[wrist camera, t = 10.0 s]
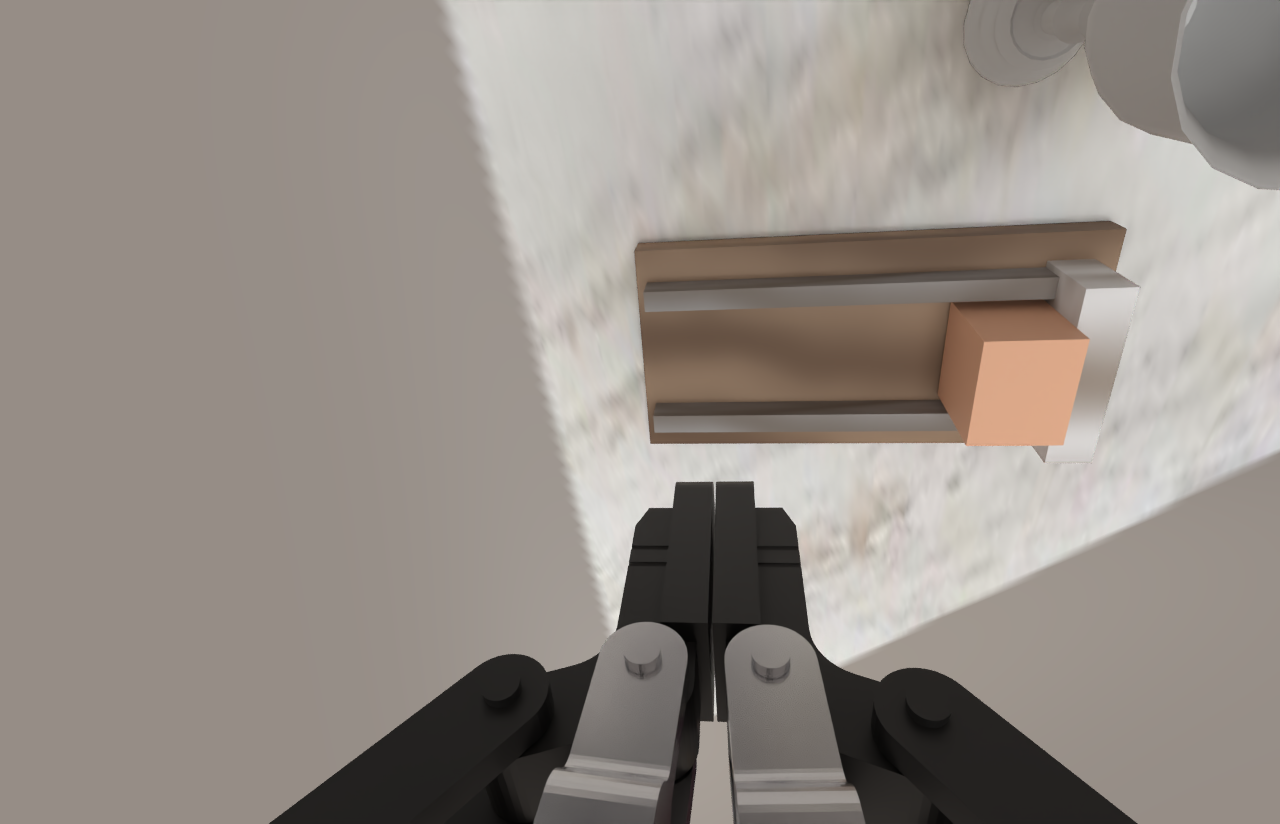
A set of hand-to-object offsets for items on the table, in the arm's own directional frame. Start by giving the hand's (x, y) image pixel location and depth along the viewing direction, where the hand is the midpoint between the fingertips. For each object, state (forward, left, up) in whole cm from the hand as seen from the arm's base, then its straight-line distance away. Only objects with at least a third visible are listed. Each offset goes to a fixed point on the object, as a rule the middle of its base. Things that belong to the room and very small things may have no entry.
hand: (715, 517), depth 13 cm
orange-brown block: (+6, +12, -22) cm, 26 cm away
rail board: (+6, +6, -23) cm, 25 cm away
